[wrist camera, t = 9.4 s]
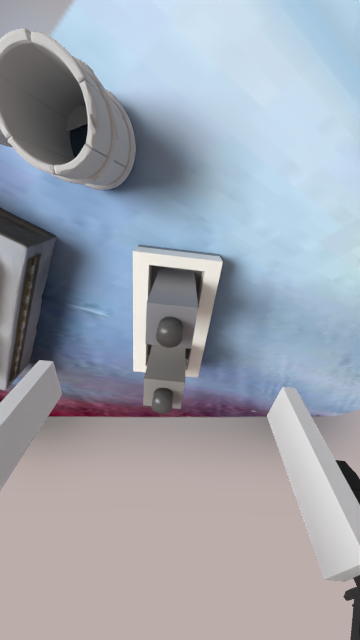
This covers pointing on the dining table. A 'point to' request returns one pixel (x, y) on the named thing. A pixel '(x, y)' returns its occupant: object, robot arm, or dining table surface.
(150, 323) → the plug
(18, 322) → the bible
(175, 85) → the dining table surface
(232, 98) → the dining table surface
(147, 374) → the twin plug
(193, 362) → the strip
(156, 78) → the dining table surface
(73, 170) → the mug
